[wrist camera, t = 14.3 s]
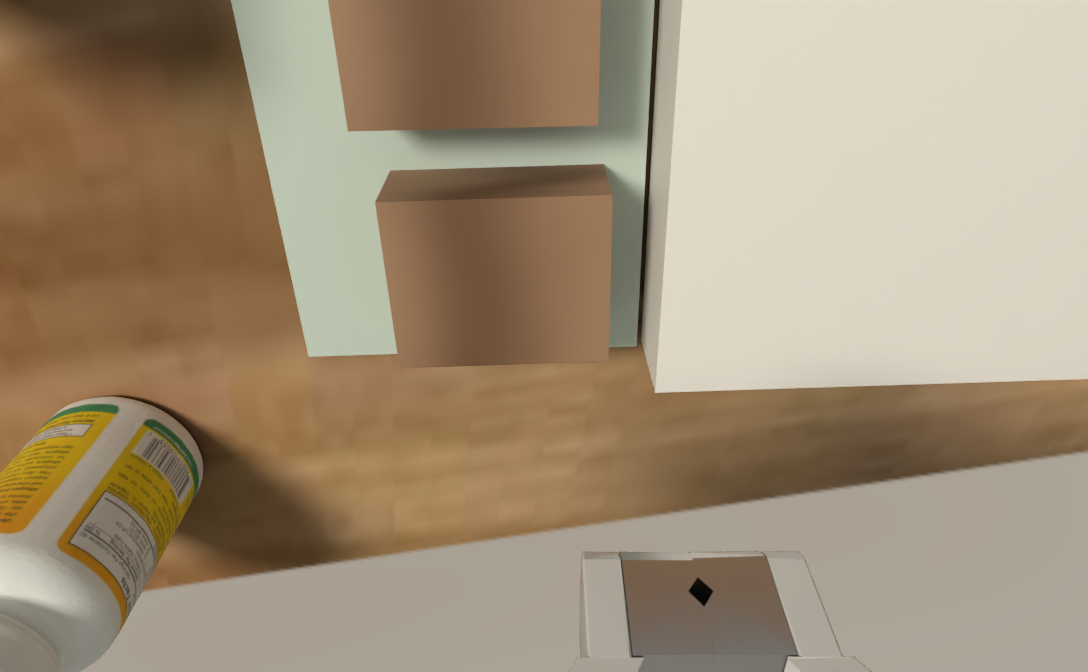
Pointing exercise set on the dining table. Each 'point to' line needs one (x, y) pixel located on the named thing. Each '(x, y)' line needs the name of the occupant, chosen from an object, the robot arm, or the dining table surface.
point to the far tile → (498, 264)
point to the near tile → (467, 63)
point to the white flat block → (867, 194)
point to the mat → (418, 165)
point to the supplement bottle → (87, 527)
